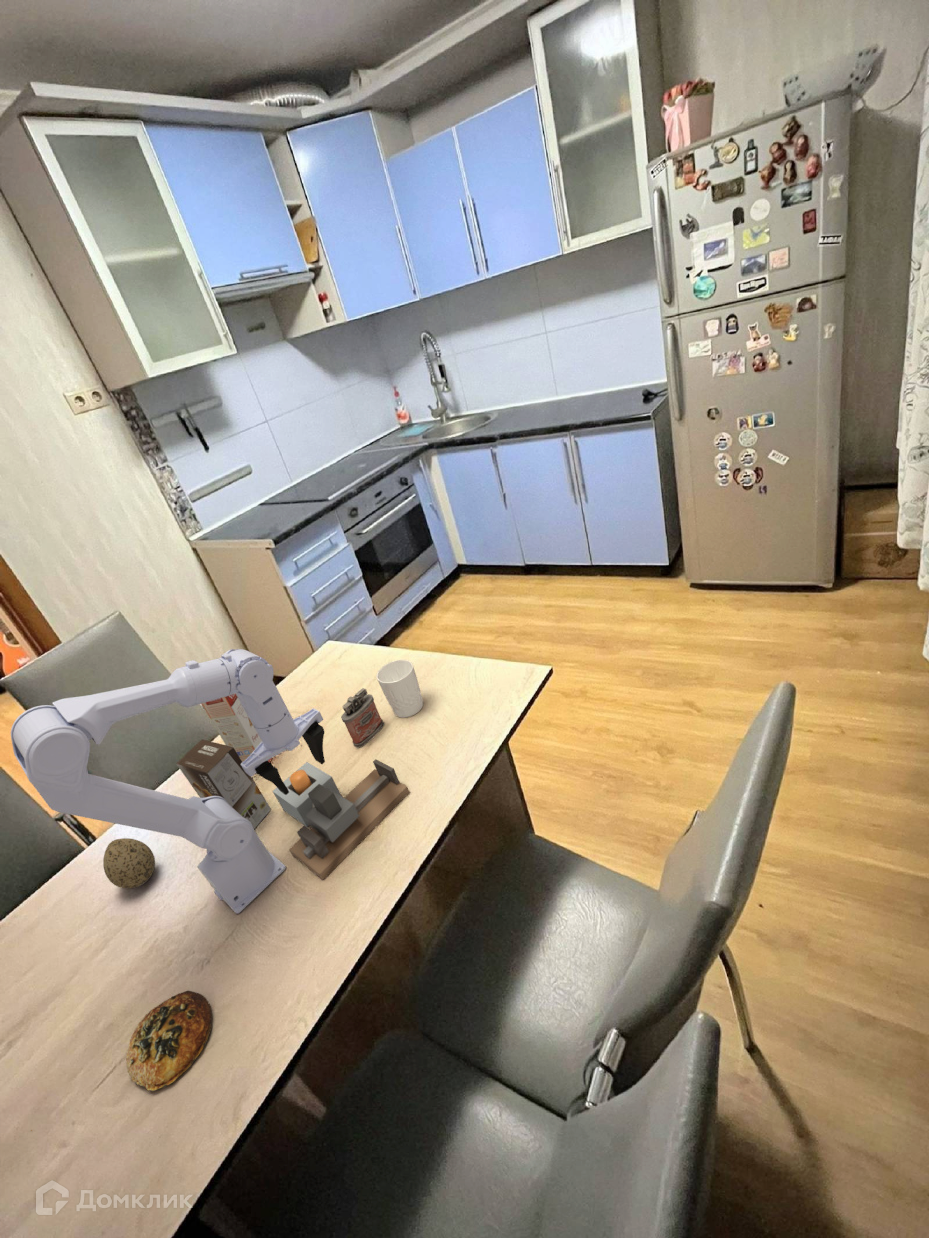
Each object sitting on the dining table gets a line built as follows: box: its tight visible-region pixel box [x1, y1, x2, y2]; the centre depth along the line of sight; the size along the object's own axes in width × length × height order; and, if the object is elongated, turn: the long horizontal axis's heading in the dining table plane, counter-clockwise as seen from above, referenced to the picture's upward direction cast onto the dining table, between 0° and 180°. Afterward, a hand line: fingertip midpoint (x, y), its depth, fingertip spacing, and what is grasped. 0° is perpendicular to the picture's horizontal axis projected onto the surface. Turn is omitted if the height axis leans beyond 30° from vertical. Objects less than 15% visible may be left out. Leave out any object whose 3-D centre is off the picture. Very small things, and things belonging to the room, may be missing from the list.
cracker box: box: [201, 693, 273, 763], centre depth 118 cm, size 14×6×21 cm, turn 179°
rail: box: [288, 759, 410, 881], centre depth 98 cm, size 20×9×5 cm, turn 139°
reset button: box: [289, 769, 312, 796], centre depth 103 cm, size 3×3×4 cm
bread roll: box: [125, 990, 213, 1092], centre depth 74 cm, size 11×11×5 cm
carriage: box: [305, 784, 360, 843], centre depth 94 cm, size 6×6×7 cm
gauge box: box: [272, 761, 342, 828], centre depth 104 cm, size 8×8×5 cm
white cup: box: [375, 659, 424, 718], centre depth 121 cm, size 8×8×10 cm
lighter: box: [340, 687, 385, 748], centre depth 116 cm, size 8×3×10 cm, turn 143°
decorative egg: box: [103, 837, 156, 890], centre depth 97 cm, size 7×7×10 cm
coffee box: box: [176, 739, 272, 830], centre depth 103 cm, size 9×6×16 cm
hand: (302, 776), depth 98 cm, fingers open, 7 cm apart
